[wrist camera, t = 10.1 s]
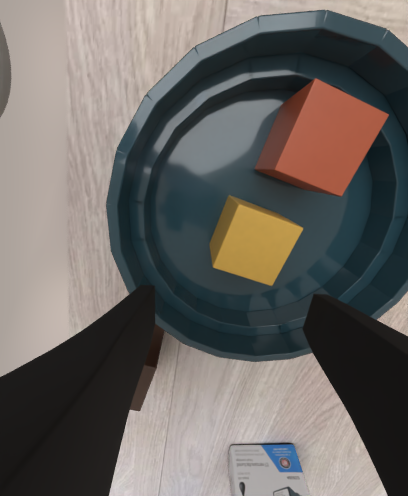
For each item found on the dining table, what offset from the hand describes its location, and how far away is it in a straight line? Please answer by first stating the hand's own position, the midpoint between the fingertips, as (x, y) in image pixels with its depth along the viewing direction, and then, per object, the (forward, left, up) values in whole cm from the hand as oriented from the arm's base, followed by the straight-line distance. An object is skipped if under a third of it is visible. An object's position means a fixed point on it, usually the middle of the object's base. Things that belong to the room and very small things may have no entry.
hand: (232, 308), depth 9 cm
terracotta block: (+2, +8, -7) cm, 11 cm away
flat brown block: (-3, -11, -8) cm, 14 cm away
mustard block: (+1, +2, -7) cm, 8 cm away
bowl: (+2, +3, -8) cm, 9 cm away
